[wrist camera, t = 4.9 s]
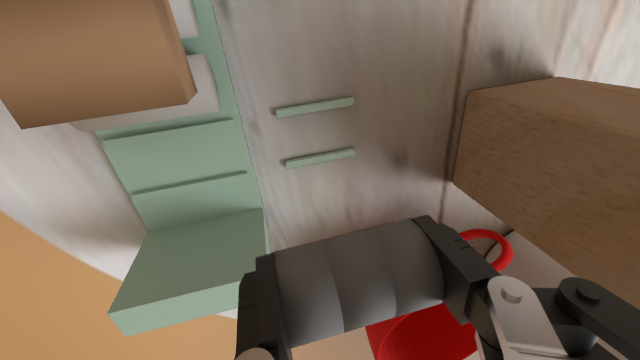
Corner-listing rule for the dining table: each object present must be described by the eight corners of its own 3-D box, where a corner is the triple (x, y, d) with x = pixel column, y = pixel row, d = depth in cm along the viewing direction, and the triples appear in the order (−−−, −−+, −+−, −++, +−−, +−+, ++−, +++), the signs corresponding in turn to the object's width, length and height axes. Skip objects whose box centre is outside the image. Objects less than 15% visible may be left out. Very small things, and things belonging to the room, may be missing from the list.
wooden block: (449, 183, 30) (721, 391, 13) (465, 89, 25) (952, 221, 8) (528, 167, 31) (866, 332, 14) (557, 75, 26) (1140, 158, 9)
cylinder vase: (462, 283, 39) (715, 584, 18) (514, 213, 34) (947, 511, 13) (519, 288, 44) (779, 535, 22) (573, 226, 39) (972, 466, 17)
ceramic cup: (483, 218, 34) (562, 282, 25) (392, 305, 38) (434, 385, 30) (419, 170, 28) (494, 231, 19) (321, 279, 32) (347, 368, 24)
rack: (275, 109, 22) (275, 110, 21) (351, 96, 23) (353, 97, 22) (286, 166, 24) (286, 169, 24) (354, 153, 25) (355, 155, 25)
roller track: (-81, -202, 12) (-611, -577, 5) (159, -202, 13) (47, -487, 6) (161, 248, 25) (125, 336, 18) (267, 224, 27) (274, 297, 19)
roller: (268, 237, 10) (284, 342, 8) (412, 203, 11) (459, 290, 9) (281, 268, 13) (295, 352, 11) (394, 239, 14) (427, 312, 12)
